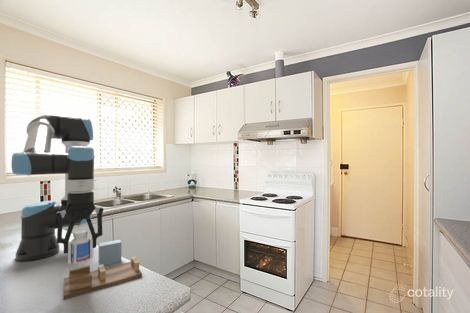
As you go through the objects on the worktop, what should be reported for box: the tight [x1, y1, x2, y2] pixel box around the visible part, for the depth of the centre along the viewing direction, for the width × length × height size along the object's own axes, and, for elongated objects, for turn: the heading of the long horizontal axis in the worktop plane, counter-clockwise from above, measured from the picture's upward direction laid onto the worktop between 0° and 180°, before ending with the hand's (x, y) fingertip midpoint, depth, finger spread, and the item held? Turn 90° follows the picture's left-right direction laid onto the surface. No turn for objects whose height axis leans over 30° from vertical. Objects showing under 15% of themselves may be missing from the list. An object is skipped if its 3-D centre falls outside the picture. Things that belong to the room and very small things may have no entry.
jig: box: [63, 256, 143, 300], centre depth 83 cm, size 13×23×4 cm, turn 126°
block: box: [98, 239, 122, 266], centre depth 97 cm, size 4×8×8 cm, turn 126°
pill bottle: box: [70, 229, 91, 265], centre depth 79 cm, size 6×5×10 cm
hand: (80, 259), depth 78 cm, fingers closed on pill bottle, 5 cm apart
